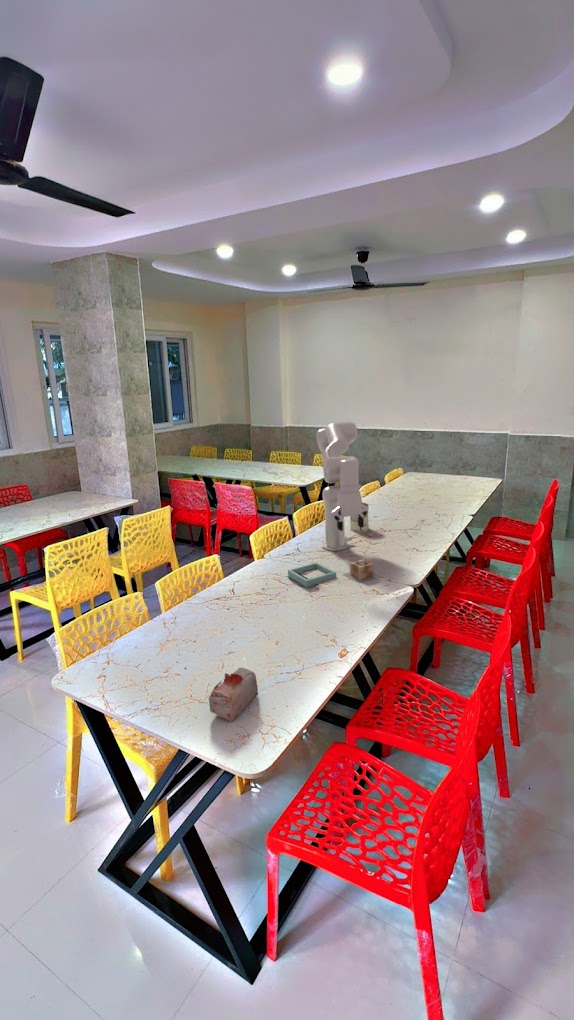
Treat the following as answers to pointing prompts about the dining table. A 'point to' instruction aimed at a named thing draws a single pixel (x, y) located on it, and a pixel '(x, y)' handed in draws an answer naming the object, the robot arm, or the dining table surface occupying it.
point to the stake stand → (362, 579)
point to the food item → (233, 694)
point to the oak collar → (361, 570)
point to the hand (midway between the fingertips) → (350, 528)
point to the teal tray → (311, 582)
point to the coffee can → (354, 522)
